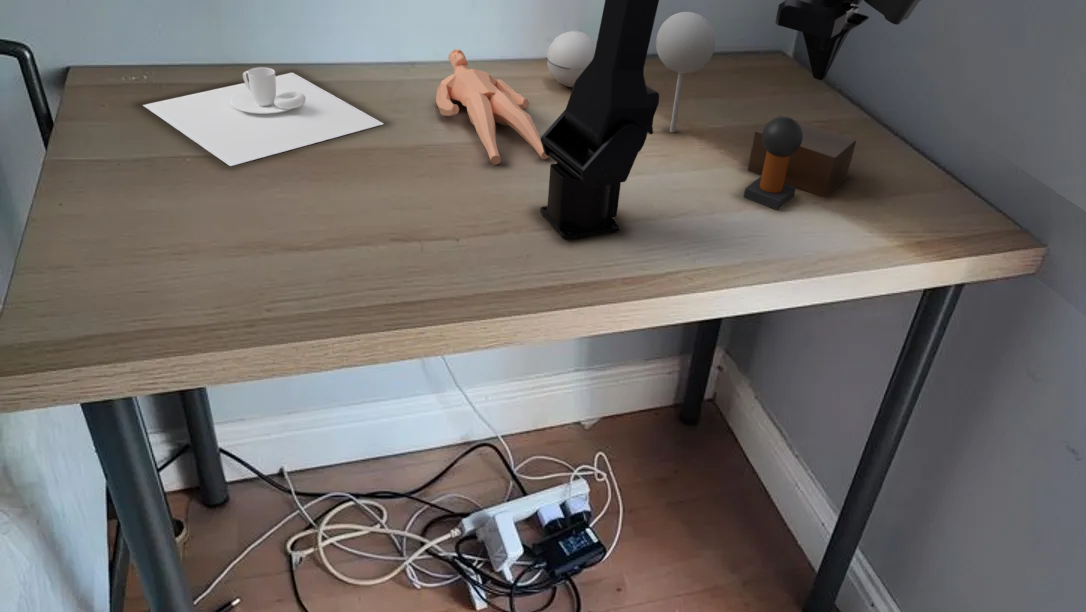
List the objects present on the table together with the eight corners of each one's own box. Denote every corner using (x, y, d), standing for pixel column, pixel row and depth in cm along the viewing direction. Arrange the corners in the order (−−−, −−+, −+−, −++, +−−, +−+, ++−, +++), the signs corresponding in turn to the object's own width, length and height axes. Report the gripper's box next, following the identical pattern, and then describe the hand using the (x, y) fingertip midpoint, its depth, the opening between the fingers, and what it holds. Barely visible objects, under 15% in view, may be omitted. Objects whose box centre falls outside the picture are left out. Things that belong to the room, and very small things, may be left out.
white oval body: (535, 78, 131) (538, 25, 127) (581, 73, 135) (586, 21, 130) (569, 105, 125) (574, 50, 120) (617, 99, 128) (623, 46, 124)
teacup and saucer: (316, 110, 116) (313, 77, 113) (257, 124, 111) (253, 91, 108) (277, 87, 120) (274, 55, 118) (218, 100, 115) (213, 67, 113)
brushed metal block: (824, 197, 110) (835, 157, 107) (747, 170, 114) (755, 131, 111) (846, 177, 115) (856, 139, 112) (771, 152, 118) (779, 114, 116)
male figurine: (477, 140, 105) (414, 45, 121) (475, 179, 108) (414, 81, 125) (566, 132, 109) (493, 41, 126) (562, 169, 112) (491, 76, 129)
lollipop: (700, 124, 124) (719, 8, 115) (699, 146, 118) (720, 26, 109) (646, 117, 124) (661, 0, 115) (643, 139, 118) (658, 18, 109)
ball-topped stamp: (779, 221, 108) (773, 174, 100) (745, 208, 110) (736, 161, 101) (812, 165, 110) (808, 115, 102) (778, 153, 112) (771, 103, 103)
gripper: (899, -35, 88) (857, 123, 97) (955, -64, 101) (913, 77, 110) (789, -61, 92) (759, 92, 101) (856, -86, 106) (824, 52, 115)
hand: (818, 78), depth 107 cm, fingers closed
